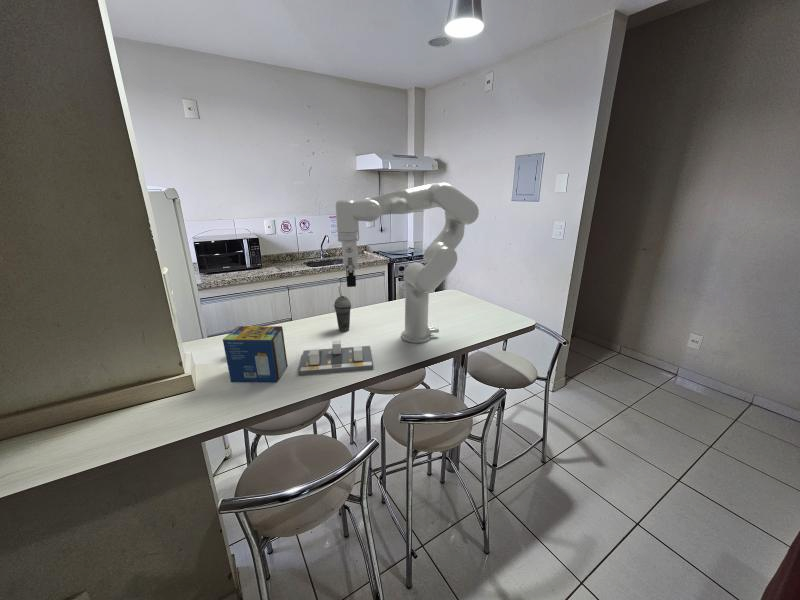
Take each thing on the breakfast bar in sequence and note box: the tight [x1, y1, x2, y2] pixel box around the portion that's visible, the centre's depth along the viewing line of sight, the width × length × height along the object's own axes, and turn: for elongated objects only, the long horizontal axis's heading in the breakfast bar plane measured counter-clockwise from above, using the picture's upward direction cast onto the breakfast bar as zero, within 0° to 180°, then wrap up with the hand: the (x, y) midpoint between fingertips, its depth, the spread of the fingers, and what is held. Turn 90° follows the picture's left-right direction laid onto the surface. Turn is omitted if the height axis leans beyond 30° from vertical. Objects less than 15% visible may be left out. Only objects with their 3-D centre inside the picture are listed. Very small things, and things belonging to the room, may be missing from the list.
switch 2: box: [352, 346, 363, 361], centre depth 115 cm, size 3×3×4 cm
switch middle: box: [331, 339, 342, 354], centre depth 120 cm, size 3×3×4 cm
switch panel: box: [298, 345, 374, 376], centre depth 117 cm, size 25×15×2 cm, turn 99°
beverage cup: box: [333, 286, 352, 333], centre depth 141 cm, size 7×7×20 cm
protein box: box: [222, 325, 289, 384], centre depth 107 cm, size 10×15×16 cm
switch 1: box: [309, 349, 320, 365], centre depth 113 cm, size 3×3×4 cm
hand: (351, 282), depth 121 cm, fingers open, 9 cm apart
